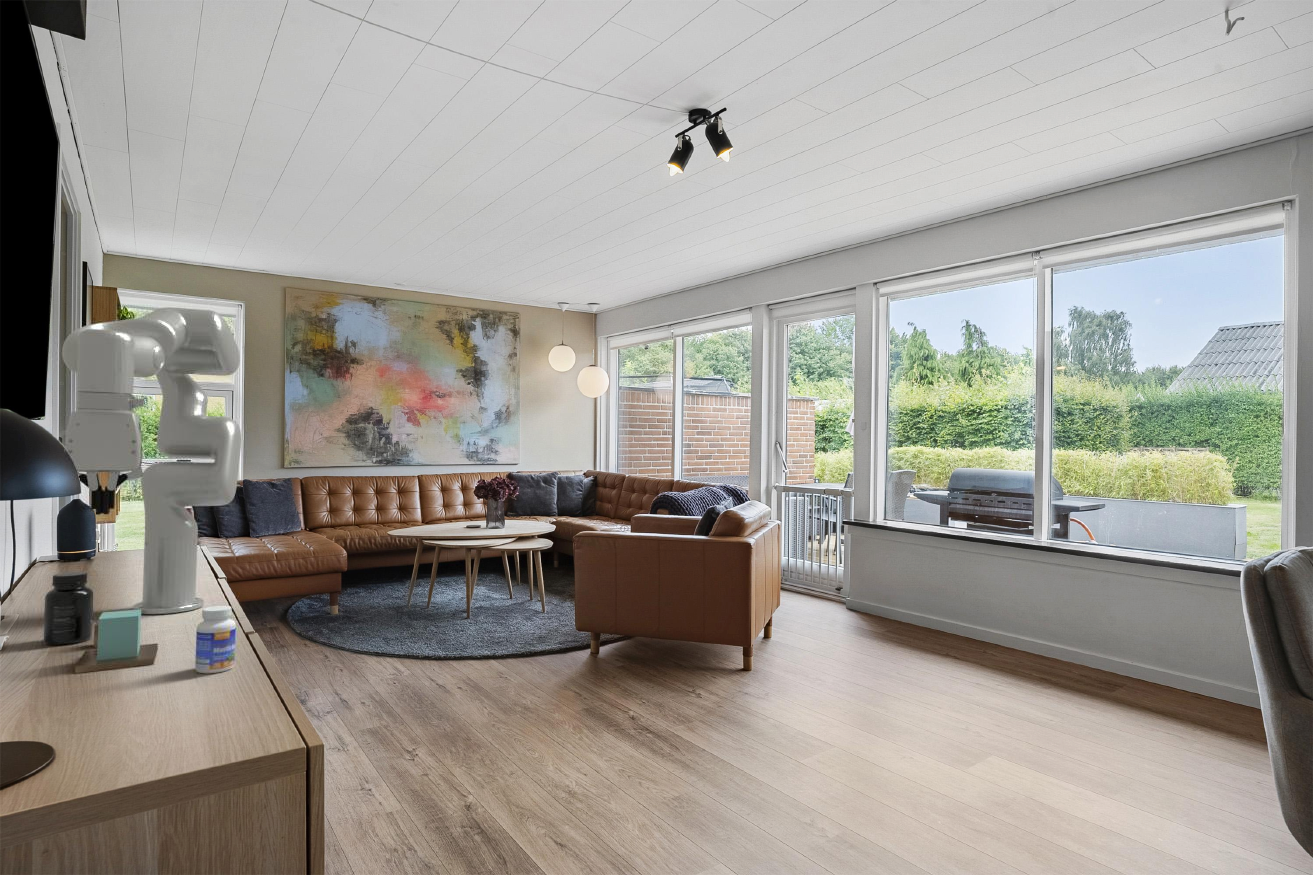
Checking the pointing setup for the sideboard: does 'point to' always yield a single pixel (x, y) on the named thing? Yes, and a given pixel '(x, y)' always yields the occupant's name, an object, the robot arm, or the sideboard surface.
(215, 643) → the pill bottle
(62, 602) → the supplement bottle
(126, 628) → the teal rectangular block
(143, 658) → the brown square base
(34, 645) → the sideboard surface
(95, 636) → the tan cardboard cube
